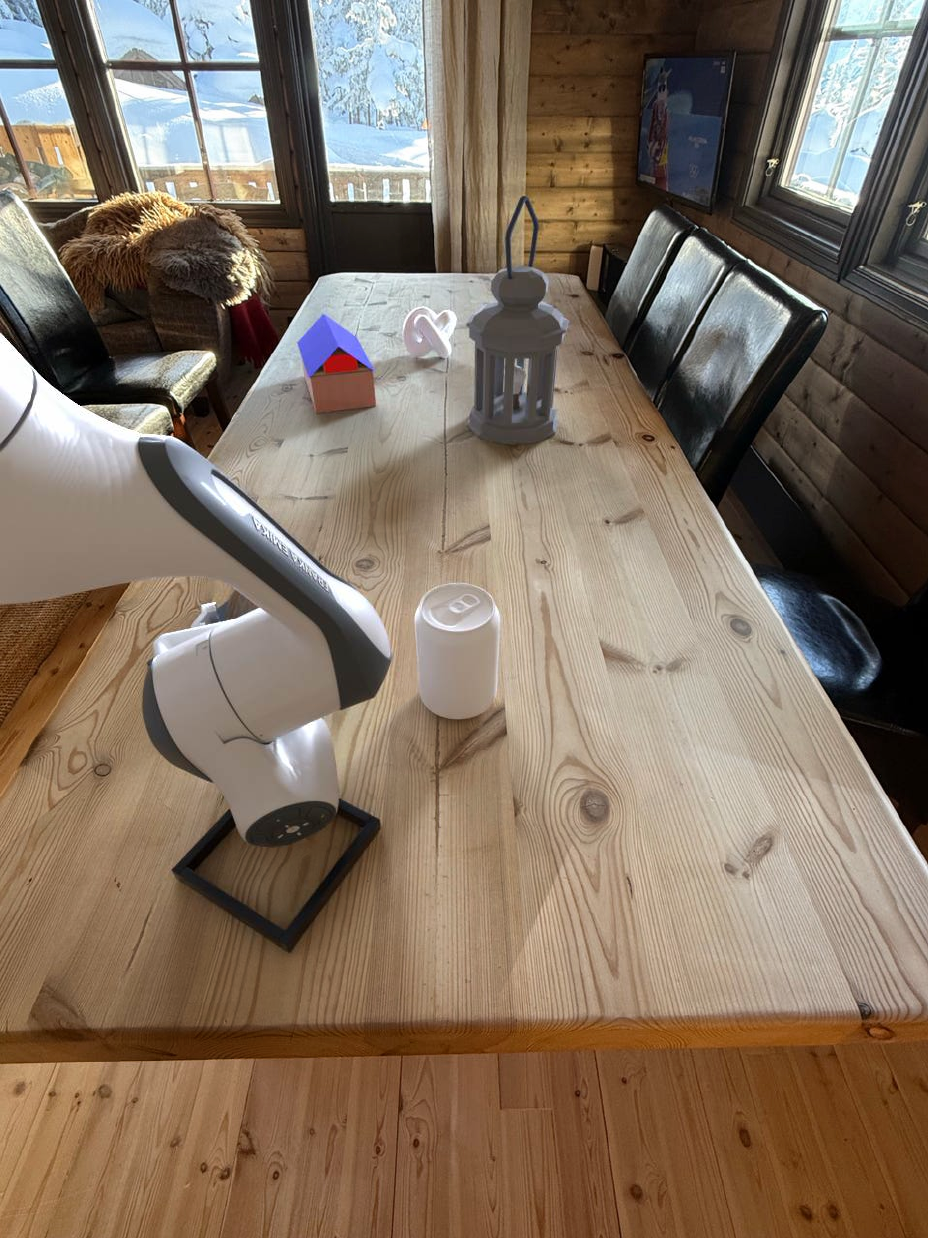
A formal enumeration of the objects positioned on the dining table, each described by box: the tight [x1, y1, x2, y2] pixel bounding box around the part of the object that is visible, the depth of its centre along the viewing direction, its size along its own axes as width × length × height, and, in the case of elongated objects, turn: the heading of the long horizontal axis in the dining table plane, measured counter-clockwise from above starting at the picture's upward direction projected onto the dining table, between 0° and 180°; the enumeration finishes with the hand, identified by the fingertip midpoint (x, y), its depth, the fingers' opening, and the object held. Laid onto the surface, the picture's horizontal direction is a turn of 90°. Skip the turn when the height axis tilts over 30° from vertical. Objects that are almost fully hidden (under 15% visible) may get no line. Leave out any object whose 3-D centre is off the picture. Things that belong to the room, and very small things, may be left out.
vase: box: [226, 589, 260, 621], centre depth 72 cm, size 7×7×9 cm
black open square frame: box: [171, 797, 382, 954], centre depth 55 cm, size 12×12×2 cm
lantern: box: [465, 195, 570, 446], centre depth 107 cm, size 17×17×35 cm
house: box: [296, 313, 377, 414], centre depth 127 cm, size 12×20×12 cm, turn 17°
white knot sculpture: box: [402, 306, 457, 359], centre depth 142 cm, size 11×12×9 cm
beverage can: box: [414, 582, 501, 720], centre depth 65 cm, size 8×8×12 cm
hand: (255, 599), depth 72 cm, fingers open, 8 cm apart
